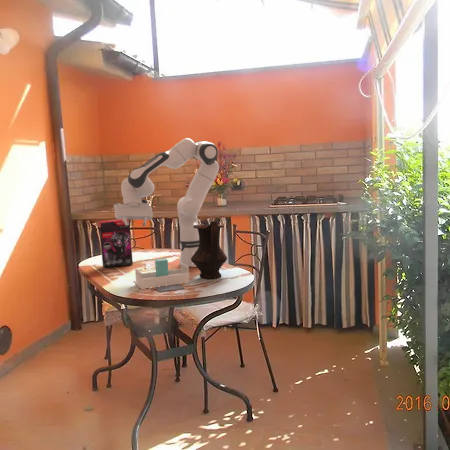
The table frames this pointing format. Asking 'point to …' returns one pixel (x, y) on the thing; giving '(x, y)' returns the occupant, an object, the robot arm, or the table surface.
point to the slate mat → (169, 287)
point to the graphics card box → (115, 243)
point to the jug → (209, 251)
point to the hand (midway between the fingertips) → (136, 225)
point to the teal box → (161, 267)
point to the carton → (162, 278)
